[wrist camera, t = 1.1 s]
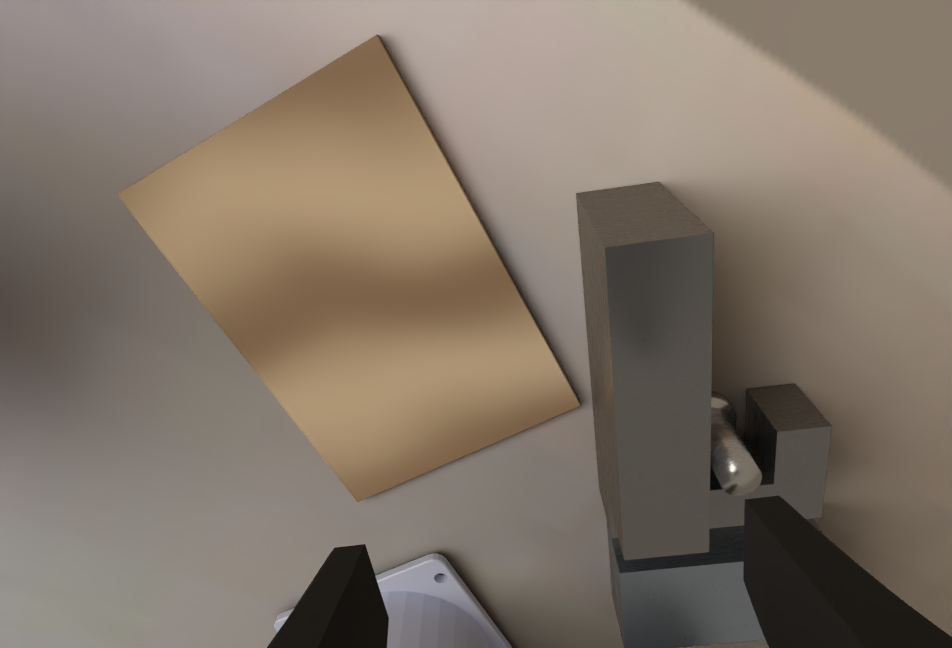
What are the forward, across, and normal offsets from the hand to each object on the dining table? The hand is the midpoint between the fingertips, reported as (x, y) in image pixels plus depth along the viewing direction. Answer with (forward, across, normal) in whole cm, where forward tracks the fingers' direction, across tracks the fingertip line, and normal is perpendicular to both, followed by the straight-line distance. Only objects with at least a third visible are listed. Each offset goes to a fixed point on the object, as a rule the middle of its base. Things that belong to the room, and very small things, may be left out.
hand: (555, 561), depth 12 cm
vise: (+10, -6, +8) cm, 14 cm away
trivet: (+10, +5, -2) cm, 11 cm away
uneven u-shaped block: (+10, -5, +1) cm, 11 cm away
